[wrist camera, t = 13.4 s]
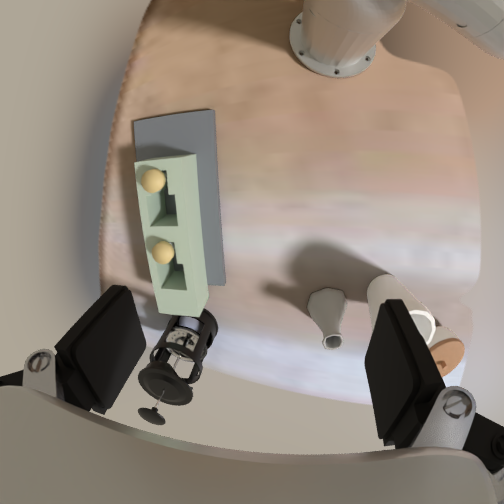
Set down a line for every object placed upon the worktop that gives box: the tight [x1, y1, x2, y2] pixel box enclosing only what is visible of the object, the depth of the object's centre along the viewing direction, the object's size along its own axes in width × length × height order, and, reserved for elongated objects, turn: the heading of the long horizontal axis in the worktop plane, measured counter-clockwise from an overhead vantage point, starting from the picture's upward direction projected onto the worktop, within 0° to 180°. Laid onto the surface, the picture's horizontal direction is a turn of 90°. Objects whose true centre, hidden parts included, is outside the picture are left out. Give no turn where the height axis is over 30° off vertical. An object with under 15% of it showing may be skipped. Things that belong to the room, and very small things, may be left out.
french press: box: [138, 308, 218, 425], centre depth 42 cm, size 12×9×23 cm
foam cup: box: [367, 274, 436, 345], centre depth 39 cm, size 10×9×13 cm
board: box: [134, 110, 226, 286], centre depth 39 cm, size 28×13×9 cm, turn 2°
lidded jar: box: [427, 326, 465, 377], centre depth 43 cm, size 11×11×9 cm
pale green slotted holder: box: [134, 154, 209, 317], centre depth 41 cm, size 24×7×6 cm, turn 2°
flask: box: [307, 288, 347, 350], centre depth 42 cm, size 7×7×10 cm
